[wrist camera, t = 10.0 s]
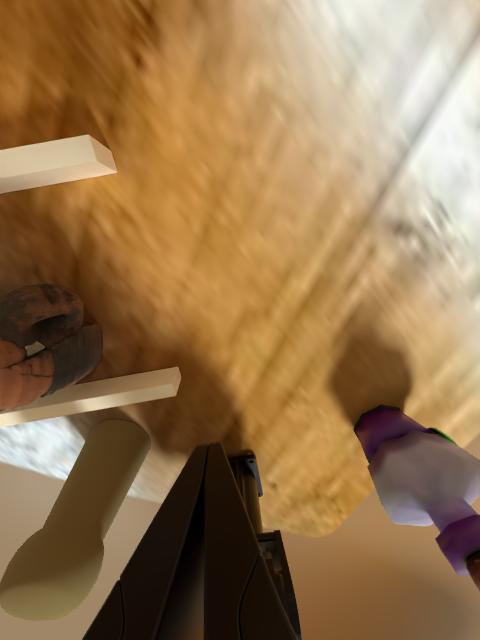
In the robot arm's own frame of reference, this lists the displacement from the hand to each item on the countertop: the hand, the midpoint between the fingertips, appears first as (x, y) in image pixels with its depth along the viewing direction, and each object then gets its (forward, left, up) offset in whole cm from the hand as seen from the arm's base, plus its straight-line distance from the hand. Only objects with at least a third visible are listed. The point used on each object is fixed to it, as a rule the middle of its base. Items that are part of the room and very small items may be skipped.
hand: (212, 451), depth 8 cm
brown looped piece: (+2, +13, -12) cm, 18 cm away
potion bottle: (-15, -15, -12) cm, 24 cm away
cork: (-11, +12, -12) cm, 21 cm away
